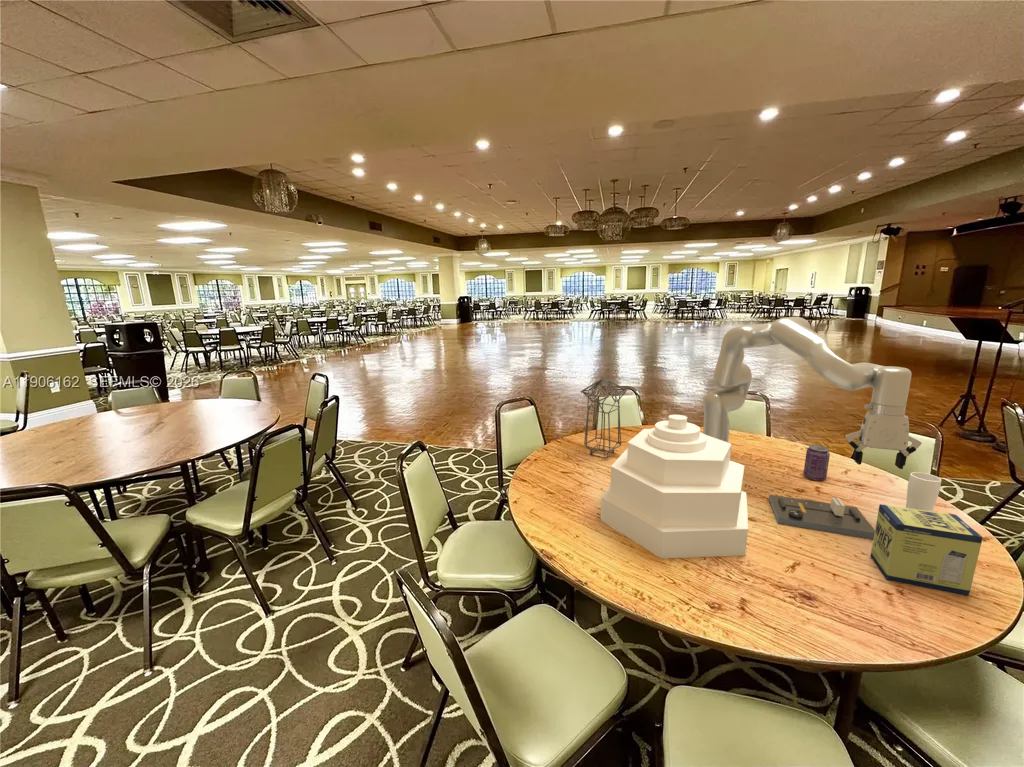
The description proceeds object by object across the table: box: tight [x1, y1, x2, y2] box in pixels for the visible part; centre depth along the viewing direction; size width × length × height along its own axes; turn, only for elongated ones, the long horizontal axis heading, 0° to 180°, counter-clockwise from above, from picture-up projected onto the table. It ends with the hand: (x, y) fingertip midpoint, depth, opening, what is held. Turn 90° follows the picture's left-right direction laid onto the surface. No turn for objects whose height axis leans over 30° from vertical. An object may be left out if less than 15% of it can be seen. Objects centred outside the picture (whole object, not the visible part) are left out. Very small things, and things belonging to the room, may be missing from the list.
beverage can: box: [803, 444, 831, 481], centre depth 156 cm, size 7×7×12 cm
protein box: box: [870, 503, 984, 597], centre depth 101 cm, size 10×16×16 cm
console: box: [768, 494, 875, 540], centre depth 129 cm, size 24×16×3 cm, turn 67°
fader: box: [830, 497, 846, 516], centre depth 128 cm, size 2×5×4 cm, turn 157°
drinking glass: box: [905, 471, 942, 512], centre depth 124 cm, size 7×7×15 cm
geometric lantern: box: [580, 377, 628, 459], centre depth 180 cm, size 16×16×35 cm
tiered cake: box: [600, 414, 749, 559], centre depth 127 cm, size 44×45×34 cm
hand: (877, 465), depth 122 cm, fingers open, 9 cm apart
